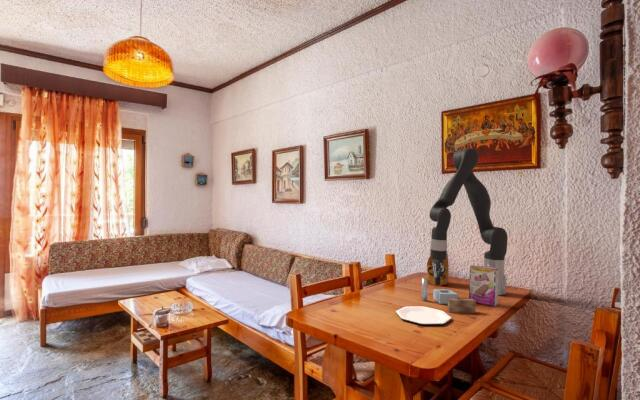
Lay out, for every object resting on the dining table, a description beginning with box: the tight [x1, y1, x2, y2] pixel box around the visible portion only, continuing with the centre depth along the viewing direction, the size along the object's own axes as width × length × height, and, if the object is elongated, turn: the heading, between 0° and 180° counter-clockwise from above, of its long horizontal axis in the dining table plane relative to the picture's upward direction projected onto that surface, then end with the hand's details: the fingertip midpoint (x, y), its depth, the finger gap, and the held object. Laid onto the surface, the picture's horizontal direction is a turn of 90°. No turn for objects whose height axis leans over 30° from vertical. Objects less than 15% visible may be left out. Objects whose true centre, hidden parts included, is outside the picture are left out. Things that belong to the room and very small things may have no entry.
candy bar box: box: [468, 264, 499, 307], centre depth 155 cm, size 11×5×16 cm, turn 47°
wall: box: [447, 298, 477, 314], centre depth 143 cm, size 11×2×5 cm, turn 92°
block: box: [432, 288, 459, 305], centre depth 156 cm, size 8×8×4 cm
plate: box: [395, 305, 452, 326], centre depth 135 cm, size 20×20×2 cm
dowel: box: [421, 277, 429, 302], centre depth 157 cm, size 3×3×10 cm
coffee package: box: [425, 253, 450, 287], centre depth 190 cm, size 10×12×22 cm
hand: (437, 284), depth 165 cm, fingers closed
